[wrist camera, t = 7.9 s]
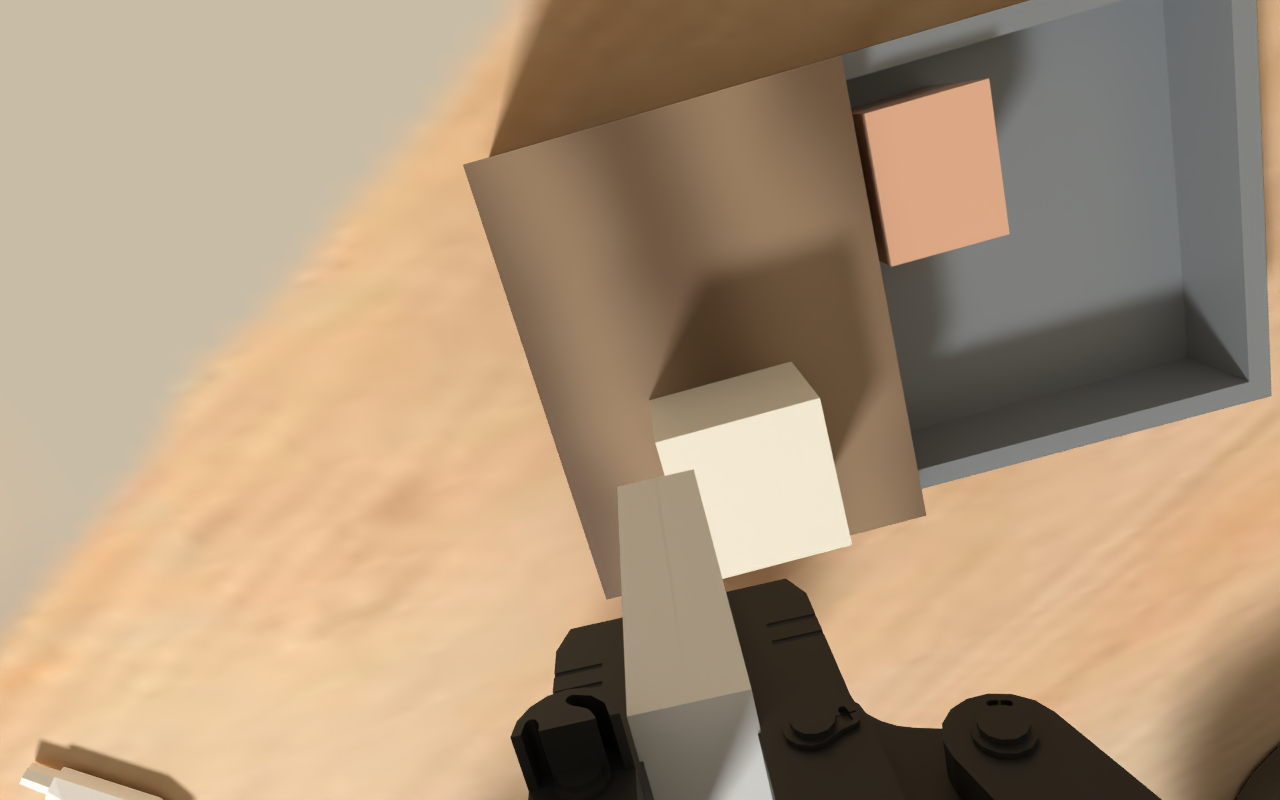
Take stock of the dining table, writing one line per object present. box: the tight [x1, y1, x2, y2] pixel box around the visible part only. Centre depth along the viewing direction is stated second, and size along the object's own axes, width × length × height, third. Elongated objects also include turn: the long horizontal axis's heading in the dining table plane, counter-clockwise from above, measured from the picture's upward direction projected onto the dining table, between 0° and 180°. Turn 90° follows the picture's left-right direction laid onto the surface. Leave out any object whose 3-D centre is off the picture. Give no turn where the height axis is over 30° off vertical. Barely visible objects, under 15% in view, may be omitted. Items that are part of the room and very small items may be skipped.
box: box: [841, 0, 1271, 489], centre depth 32 cm, size 14×16×4 cm
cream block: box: [649, 362, 852, 579], centre depth 28 cm, size 5×5×4 cm
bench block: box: [463, 55, 926, 599], centre depth 31 cm, size 12×16×6 cm
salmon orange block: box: [851, 78, 1010, 267], centre depth 30 cm, size 5×5×4 cm
